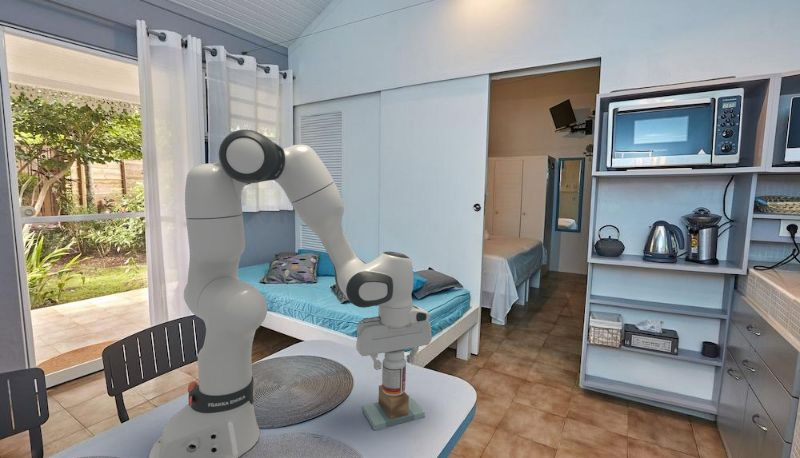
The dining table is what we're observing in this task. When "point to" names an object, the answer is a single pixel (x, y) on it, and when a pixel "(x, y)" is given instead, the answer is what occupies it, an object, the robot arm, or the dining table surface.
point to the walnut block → (394, 404)
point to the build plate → (382, 420)
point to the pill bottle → (394, 373)
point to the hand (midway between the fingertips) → (394, 365)
